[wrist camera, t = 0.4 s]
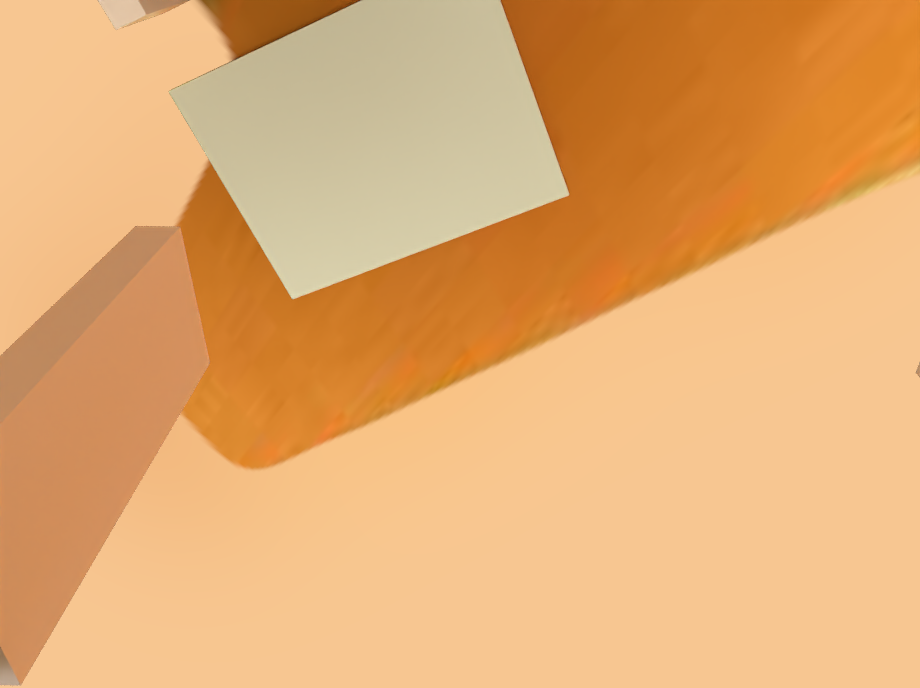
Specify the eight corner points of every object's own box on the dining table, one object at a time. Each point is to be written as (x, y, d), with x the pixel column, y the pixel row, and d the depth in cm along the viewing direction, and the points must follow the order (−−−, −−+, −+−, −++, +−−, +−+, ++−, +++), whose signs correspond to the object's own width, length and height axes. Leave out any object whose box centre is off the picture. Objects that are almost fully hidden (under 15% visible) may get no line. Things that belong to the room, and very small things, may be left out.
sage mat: (173, 88, 36) (168, 91, 35) (480, -57, 32) (480, -56, 31) (294, 294, 41) (292, 299, 41) (568, 190, 38) (569, 194, 37)
